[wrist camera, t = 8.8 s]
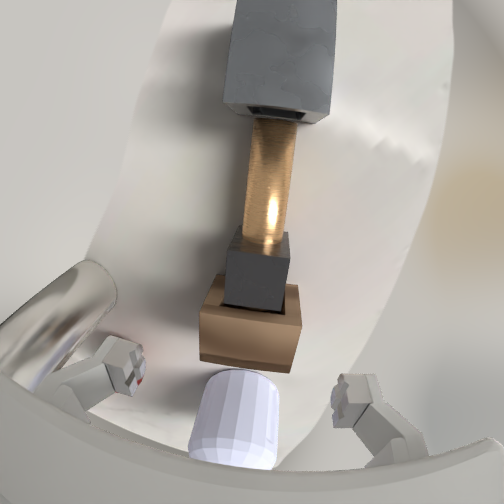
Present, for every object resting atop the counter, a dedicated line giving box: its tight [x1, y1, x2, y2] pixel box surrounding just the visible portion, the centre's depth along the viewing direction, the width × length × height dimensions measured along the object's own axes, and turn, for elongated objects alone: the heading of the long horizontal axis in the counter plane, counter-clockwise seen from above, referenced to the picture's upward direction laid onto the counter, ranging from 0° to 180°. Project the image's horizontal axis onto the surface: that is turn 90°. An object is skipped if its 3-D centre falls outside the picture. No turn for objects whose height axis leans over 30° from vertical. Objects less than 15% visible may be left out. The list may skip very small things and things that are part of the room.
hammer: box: [224, 118, 297, 313], centre depth 20 cm, size 17×4×6 cm, turn 174°
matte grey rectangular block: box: [223, 0, 337, 124], centre depth 15 cm, size 9×6×6 cm
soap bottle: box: [188, 370, 279, 470], centre depth 19 cm, size 9×9×25 cm
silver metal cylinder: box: [0, 260, 117, 393], centre depth 16 cm, size 6×6×25 cm
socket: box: [199, 275, 302, 373], centre depth 23 cm, size 5×7×6 cm
